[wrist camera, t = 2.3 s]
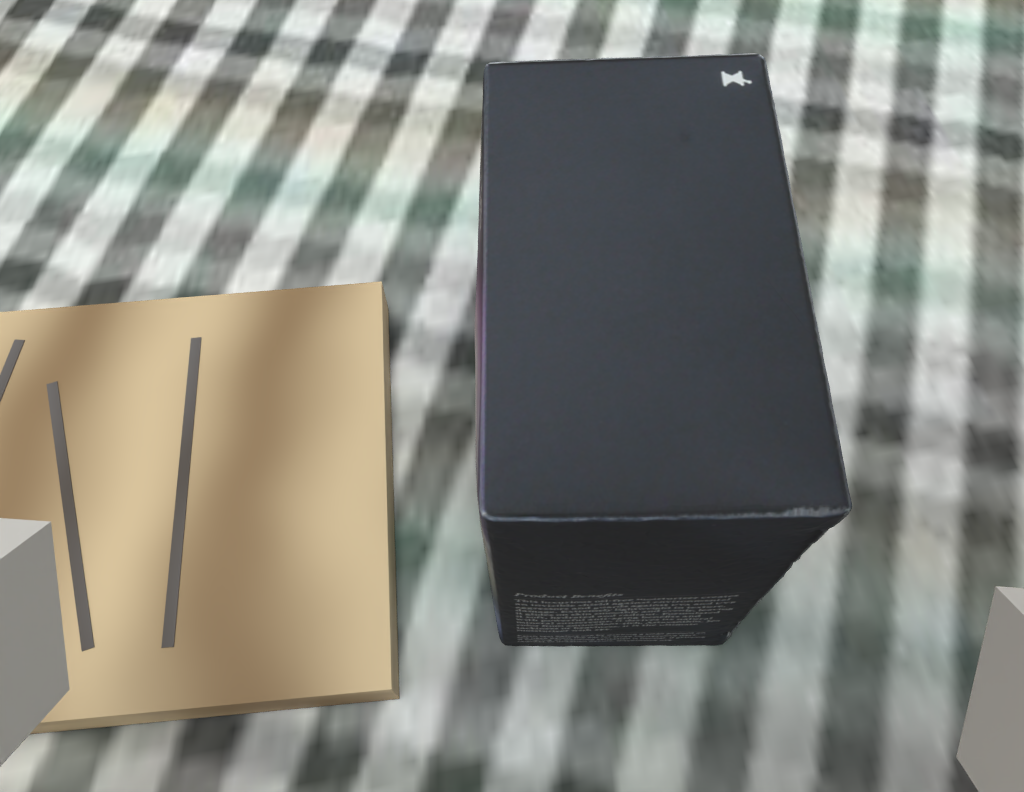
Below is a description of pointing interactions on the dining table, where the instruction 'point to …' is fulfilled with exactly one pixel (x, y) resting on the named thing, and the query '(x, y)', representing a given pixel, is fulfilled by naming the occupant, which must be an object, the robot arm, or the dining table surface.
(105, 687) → the oak board
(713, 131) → the small box
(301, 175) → the dining table surface
